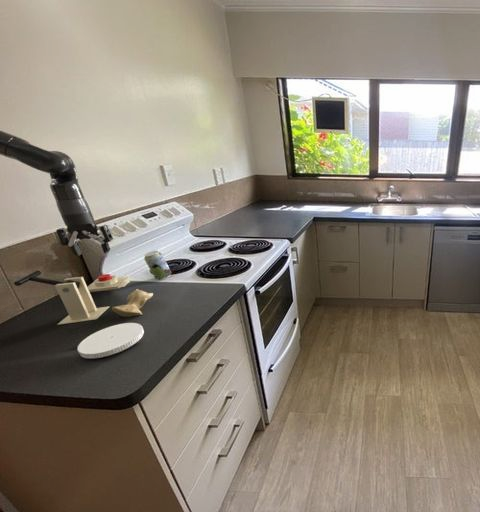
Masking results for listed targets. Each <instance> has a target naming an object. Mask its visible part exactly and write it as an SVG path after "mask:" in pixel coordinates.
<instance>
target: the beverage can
mask: <svg viewBox="0 0 480 512" xmlns="http://www.w3.org/2000/svg"><path fill="white" fill-rule="evenodd" d="M143 259H144V262H145V263H146V265H147V267H148V268H149V270H150V271H151V273H152V275H153V277H154V278H155V280H159V281H160V280H165V279H168V278H169V277H170V276H171V275H172V274H173V272H172V270H171V269H170V266H169V265H168V262H167V261H166V259H165V257H164V256H163V253H161V251H160V252H159V250H152V251H149V252H147V253H145V254H144V258H143Z"/></svg>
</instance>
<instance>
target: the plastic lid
mask: <svg viewBox="0 0 480 512" xmlns="http://www.w3.org/2000/svg"><path fill="white" fill-rule="evenodd" d="M144 334H145V330H144V328H143V326H142V324H140V323H137V322H125V323H119V324H115V325H111V326H107V327H104V328H102V329H100V330H98V331H96V332H94V333H92V334H90V335H89V336H87V337H86V338H84V339H83V340H81V342H80V343H79V344H78V345H77V352H78V354H79V356H80V357H82V358H84V359H100V358H104V357H109V356H112V355H115V354H118V353H120V352H123V351H125V350H127V349H129V348H130V347H132V346H134V345H135V344H136V343H138V342H139V341H140V340H141V339H142V338H143V336H144Z"/></svg>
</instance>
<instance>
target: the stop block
mask: <svg viewBox="0 0 480 512" xmlns="http://www.w3.org/2000/svg"><path fill="white" fill-rule="evenodd" d="M110 276H111V278H112V279H110V280H107V281H101V282H100V281H99V279H98V278H96V279H95V280H93V282H92V283H90V284H89V285H87V288H88V290H89V292H90V293H96V292H103V291H112V290H120V289H121V288H124V287H126V286H127V285H128V284H129V283H131V279H130V276H121V277H117V276H116V275H112V274H110Z"/></svg>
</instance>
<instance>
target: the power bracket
mask: <svg viewBox="0 0 480 512" xmlns="http://www.w3.org/2000/svg"><path fill="white" fill-rule="evenodd" d="M68 280H70V281H75V282H80V285H79V289H78V288H77V286H76V284H75V282H72V283H63V284H57V285H54V287H55V289H56V291H57V293H58V296H59V297H60V299H61V301H62V303H63V306H64V308H65V310H66V312H67V314H68V315H67V316H66V317H64V318H63V319H62V320H60V322H59V323H57V324H56V325H57V326H58V325H65V324H72V323H79V322H88V321H93V320H94V321H95V320H97V319H99V317H101V316H102V315H103V314H104V313H105V312H106V311H107V310H108V309H109V308H110V306H102V307H101V306H100V307H97V306H96V304H95V301H94V299H93V297H92V295H91V292H89V290H88V288H87V287H88V285H87V283H86V281H85V279H84V276H77V277H68V278H67V277H66V278H65V279H64V278H63V282H67V281H68Z"/></svg>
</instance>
